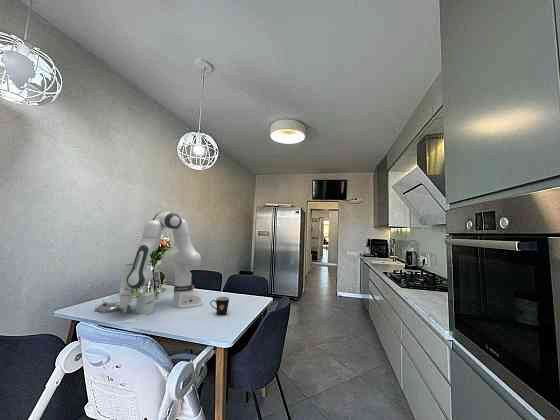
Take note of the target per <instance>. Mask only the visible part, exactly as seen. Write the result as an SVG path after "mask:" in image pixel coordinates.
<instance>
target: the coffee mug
mask: <svg viewBox="0 0 560 420" xmlns="http://www.w3.org/2000/svg"><path fill="white" fill-rule="evenodd" d="M213 302H215V304H216V307H215V306H214V305H213V304H212V303H213ZM229 302H230V297H228V296H217V297H216V298H215V299H212V300H211V301H210V302H209V304H210V306H211V307H212V308H214V309H215V310H216V315H217V316H226V315H228V309H229Z"/></svg>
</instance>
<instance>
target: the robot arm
mask: <svg viewBox="0 0 560 420" xmlns="http://www.w3.org/2000/svg"><path fill="white" fill-rule="evenodd" d="M165 229H171V230H172V237H173V243H174V244H173V245H174V246H175V247H176V248H177V250H173V251H172V252H171V253H170V254H169V257H168V258H169V262H170V263H171V264H172V266H173V269H174V272H175V276H174V277H175V279H174V286H173V296H172V297H173V298H172V300H171V304H170V306H171V307H173V308H179V309H185V308H192V307H200V306H203V305H204V300H203V299H201V294H200V293H199V292H198V291H196V290H195V285H194V284H192V275H193V274H192V272H191V271H190V270H189V268H188V267H190V268H191V267H197V266H199V264H200V263H201V260H202V256H201V254H200V253H199V252H198V251H197V250H196V249H195V247H194V246H193V244H192V242H191V237H190V231H189V230H190V229H189V226H188V223H187V221H186V220H185V219H184V218H181V217H180V216H179V214H177V213H175V212H171V211H166V212H165V211H161V212H158V213H156V214H155V216H154V218H153V219H151V220H149V221H147V222H146V223H145V226H144V228H143V230H142V231H143V232H142V235H141V239H140V243H139V246H138V249H137V252H136V255H135V257H134V261H133V263H128V264H125V265H124V266H122V270H121V276H120V280H121V282H120V285H119V293H118V296H119V303H120V308H123V313H122V314H126V312H127V307H128V306H131V302H132V301H133V298H134V293H135V292H137V289H140V287H142V286H144V285H146V284H148V283H149V282H151V281H152V280H153V278H154V273H153V271H152V270H151V269H150V268H145V267H146V262H147V259H148V257H149V256H150V255H151V254H152V253H154V251H155V250H157V249H158V248H159V246H160V244H161V237H162V233H163V231H164V230H165ZM127 313H128V312H127Z"/></svg>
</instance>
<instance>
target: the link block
mask: <svg viewBox="0 0 560 420" xmlns="http://www.w3.org/2000/svg"><path fill="white" fill-rule="evenodd" d="M131 311H132V305H131V304H130V305H129V306H128V307H127V312H126V313H131ZM120 313H121V314H124V313H123V308H121V311H120ZM126 313H125V314H126Z"/></svg>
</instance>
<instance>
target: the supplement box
mask: <svg viewBox="0 0 560 420" xmlns="http://www.w3.org/2000/svg"><path fill="white" fill-rule="evenodd" d="M155 297H156V293H155V292H149V291H147V292H142V293H138V294H137V298H136V308H135V313H136V314H140V315H145V316H148V315H151V314H154V311H155V310H154V309H155Z"/></svg>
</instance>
